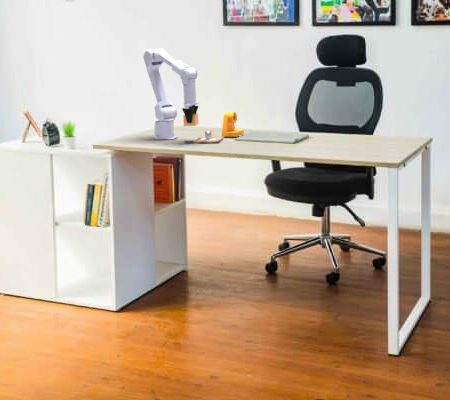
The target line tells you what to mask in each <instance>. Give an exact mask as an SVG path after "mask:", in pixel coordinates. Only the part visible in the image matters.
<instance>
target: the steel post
mask: <svg viewBox="0 0 450 400" xmlns="http://www.w3.org/2000/svg"><path fill="white" fill-rule="evenodd" d="M204 138H205V139H206V140H210V139H212V130H205V131H204Z"/></svg>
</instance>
